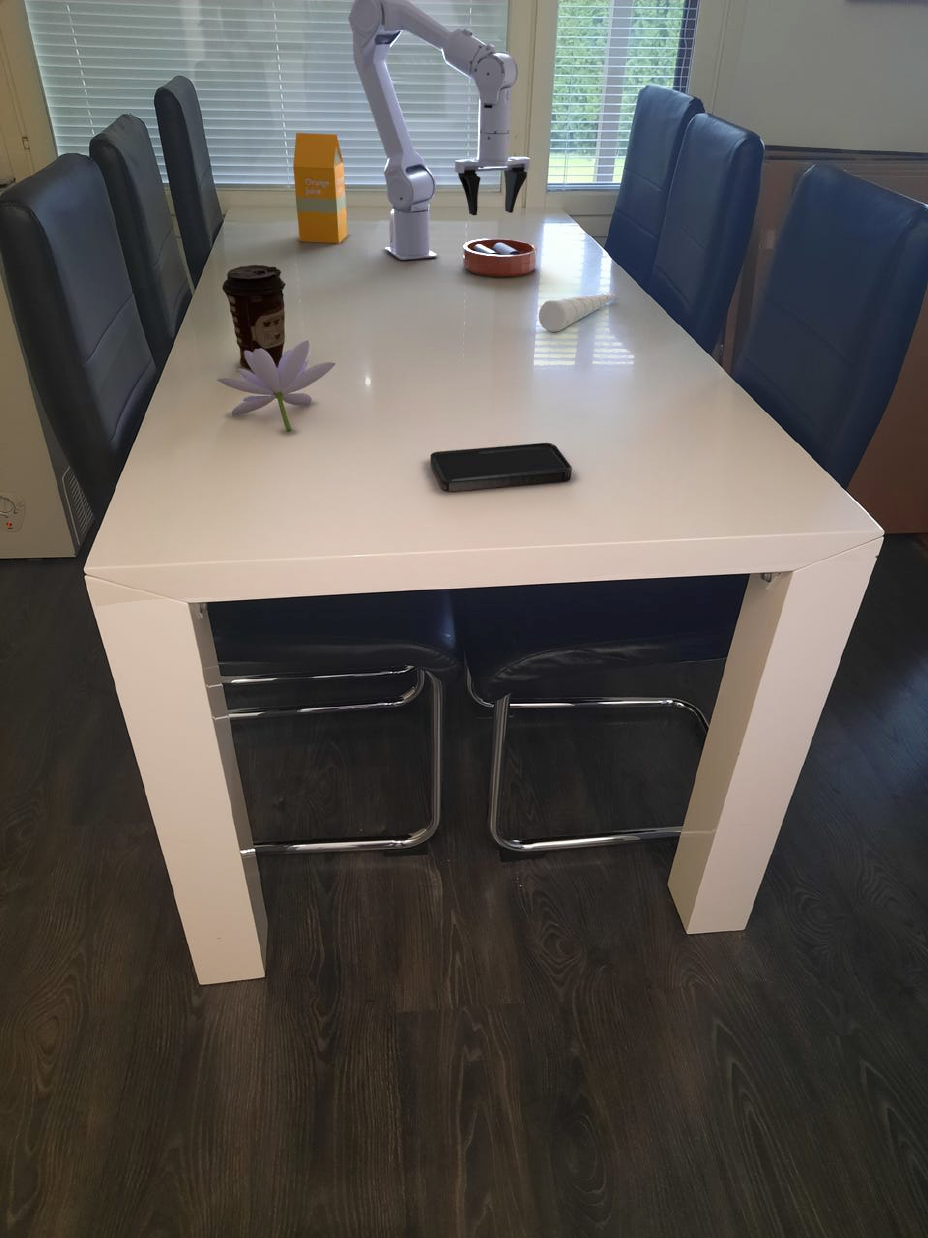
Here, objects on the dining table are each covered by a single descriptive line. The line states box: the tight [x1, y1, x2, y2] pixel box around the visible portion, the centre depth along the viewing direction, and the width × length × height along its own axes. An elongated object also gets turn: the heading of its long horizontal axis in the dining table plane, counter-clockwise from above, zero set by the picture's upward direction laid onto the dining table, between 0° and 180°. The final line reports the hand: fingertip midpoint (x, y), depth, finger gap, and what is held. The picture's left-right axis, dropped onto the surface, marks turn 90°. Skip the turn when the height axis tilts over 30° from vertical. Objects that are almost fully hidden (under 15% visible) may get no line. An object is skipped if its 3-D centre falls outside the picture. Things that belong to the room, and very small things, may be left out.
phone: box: [429, 442, 573, 492], centre depth 97 cm, size 8×1×15 cm
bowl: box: [462, 238, 538, 278], centre depth 168 cm, size 14×14×4 cm
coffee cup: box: [221, 264, 287, 372], centre depth 119 cm, size 9×8×13 cm
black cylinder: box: [472, 244, 500, 255], centre depth 167 cm, size 7×3×3 cm, turn 24°
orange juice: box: [292, 132, 348, 244], centre depth 181 cm, size 8×9×20 cm
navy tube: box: [492, 243, 521, 255], centre depth 168 cm, size 7×3×3 cm
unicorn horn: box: [538, 293, 615, 333], centre depth 144 cm, size 5×24×5 cm, turn 142°
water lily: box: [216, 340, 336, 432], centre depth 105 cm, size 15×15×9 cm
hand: (491, 212), depth 164 cm, fingers open, 7 cm apart
